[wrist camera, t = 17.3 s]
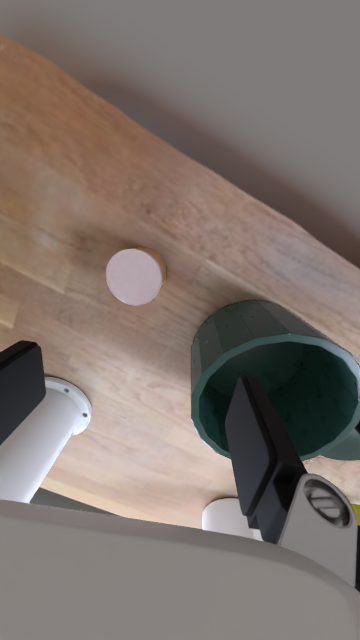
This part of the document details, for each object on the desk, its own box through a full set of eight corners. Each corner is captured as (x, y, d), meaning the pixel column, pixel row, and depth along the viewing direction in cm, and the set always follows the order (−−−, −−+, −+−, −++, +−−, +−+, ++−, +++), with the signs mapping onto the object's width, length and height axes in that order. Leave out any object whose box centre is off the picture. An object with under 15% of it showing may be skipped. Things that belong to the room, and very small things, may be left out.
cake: (120, 291, 27) (105, 301, 22) (121, 244, 25) (104, 245, 20) (164, 297, 27) (159, 308, 22) (168, 250, 25) (163, 252, 20)
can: (227, 534, 48) (251, 723, 29) (190, 511, 45) (189, 702, 26) (271, 515, 44) (330, 717, 25) (233, 488, 41) (268, 691, 23)
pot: (259, 413, 34) (287, 484, 24) (170, 370, 31) (161, 429, 22) (332, 336, 28) (410, 388, 18) (231, 276, 26) (256, 298, 16)
